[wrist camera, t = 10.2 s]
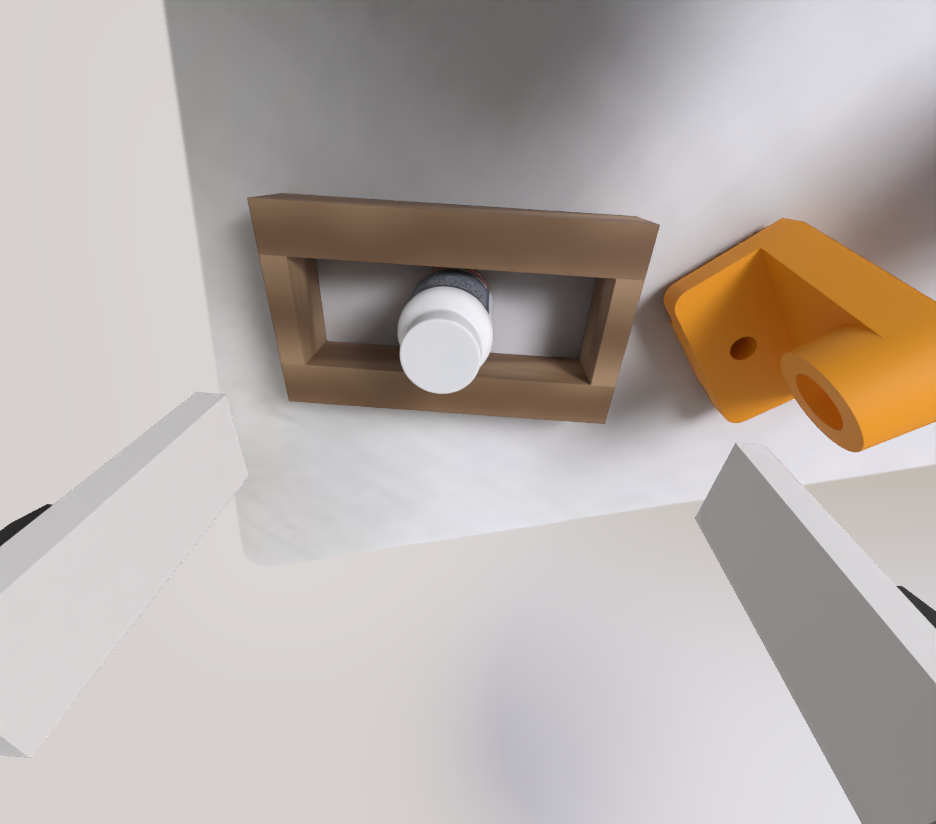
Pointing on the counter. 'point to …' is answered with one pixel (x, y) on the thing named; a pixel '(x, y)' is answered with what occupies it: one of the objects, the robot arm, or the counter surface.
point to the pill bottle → (446, 329)
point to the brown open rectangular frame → (456, 246)
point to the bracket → (809, 336)
